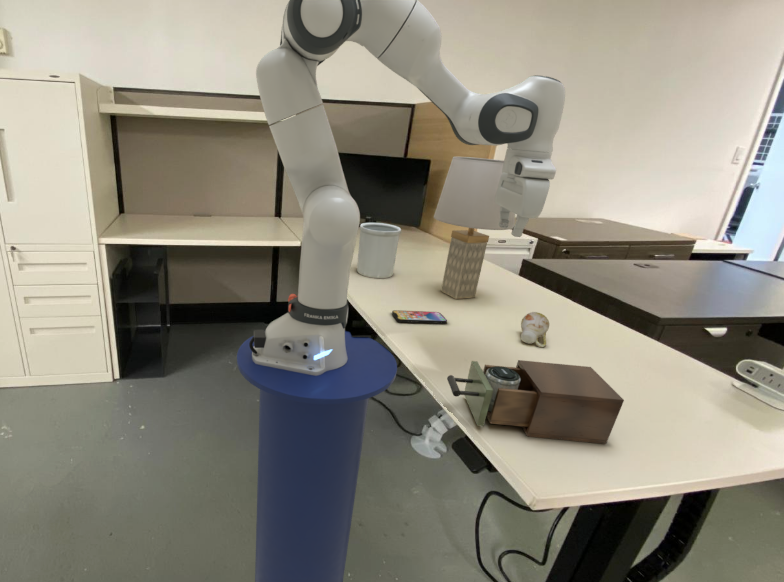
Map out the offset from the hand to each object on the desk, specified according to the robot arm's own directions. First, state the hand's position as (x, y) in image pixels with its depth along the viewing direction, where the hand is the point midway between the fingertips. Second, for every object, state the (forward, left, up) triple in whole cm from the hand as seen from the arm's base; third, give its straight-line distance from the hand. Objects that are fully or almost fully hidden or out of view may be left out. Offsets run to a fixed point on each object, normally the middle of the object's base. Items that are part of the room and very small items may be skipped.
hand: (509, 231), depth 103 cm
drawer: (-4, -27, -30) cm, 41 cm away
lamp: (+5, +49, -31) cm, 58 cm away
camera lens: (-4, -27, -29) cm, 40 cm away
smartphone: (-12, +22, -31) cm, 40 cm away
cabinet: (+8, -27, -31) cm, 42 cm away
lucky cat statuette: (+18, +14, -31) cm, 39 cm away
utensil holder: (-23, +66, -31) cm, 77 cm away
